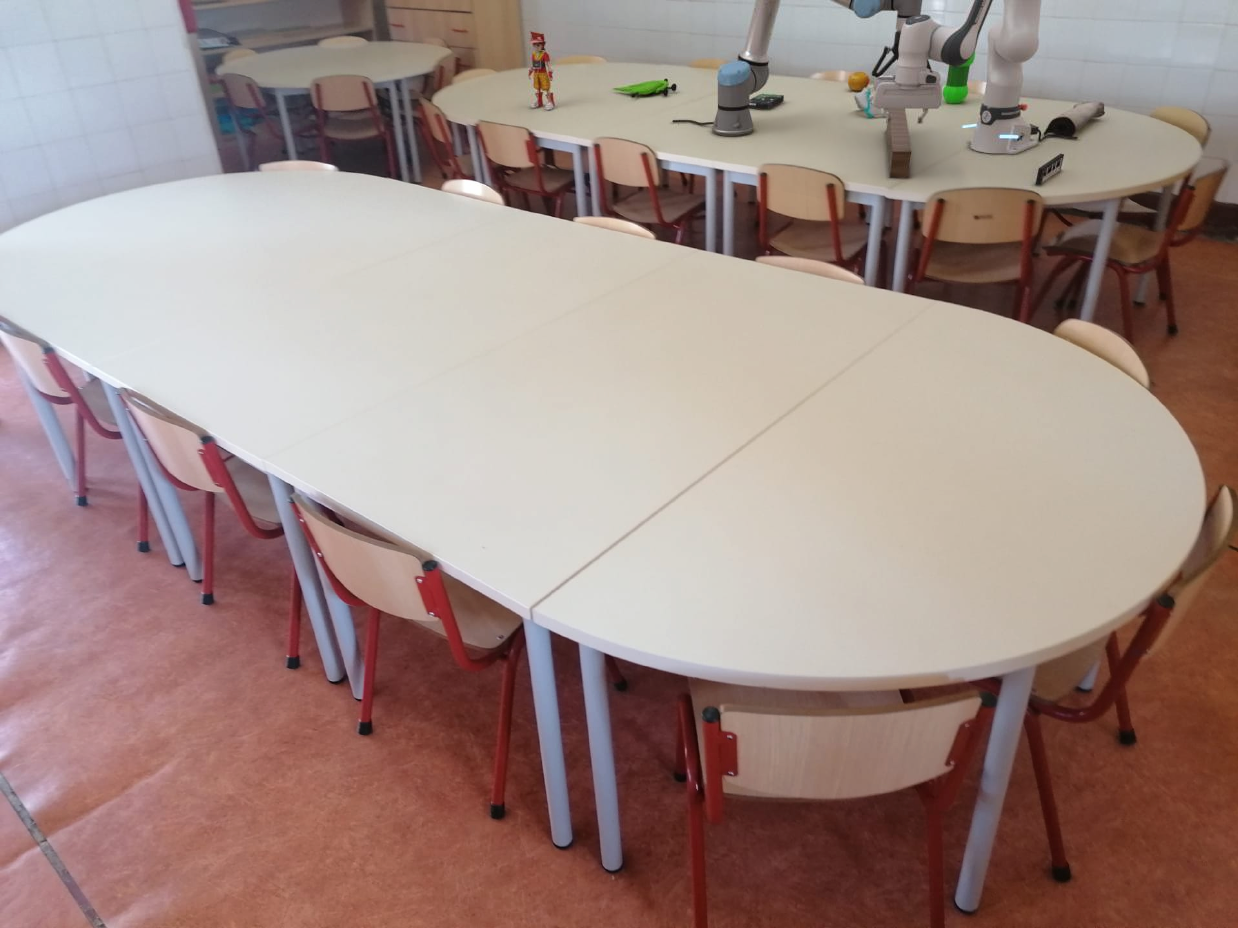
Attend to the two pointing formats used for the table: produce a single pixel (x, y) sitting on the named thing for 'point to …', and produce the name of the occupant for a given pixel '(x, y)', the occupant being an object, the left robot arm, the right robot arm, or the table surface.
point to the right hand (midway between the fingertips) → (904, 123)
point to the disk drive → (765, 101)
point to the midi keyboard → (1049, 169)
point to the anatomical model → (867, 103)
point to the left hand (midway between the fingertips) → (898, 97)
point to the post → (898, 144)
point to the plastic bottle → (957, 82)
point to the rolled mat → (1075, 118)
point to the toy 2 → (648, 88)
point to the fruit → (858, 81)
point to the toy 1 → (541, 71)
